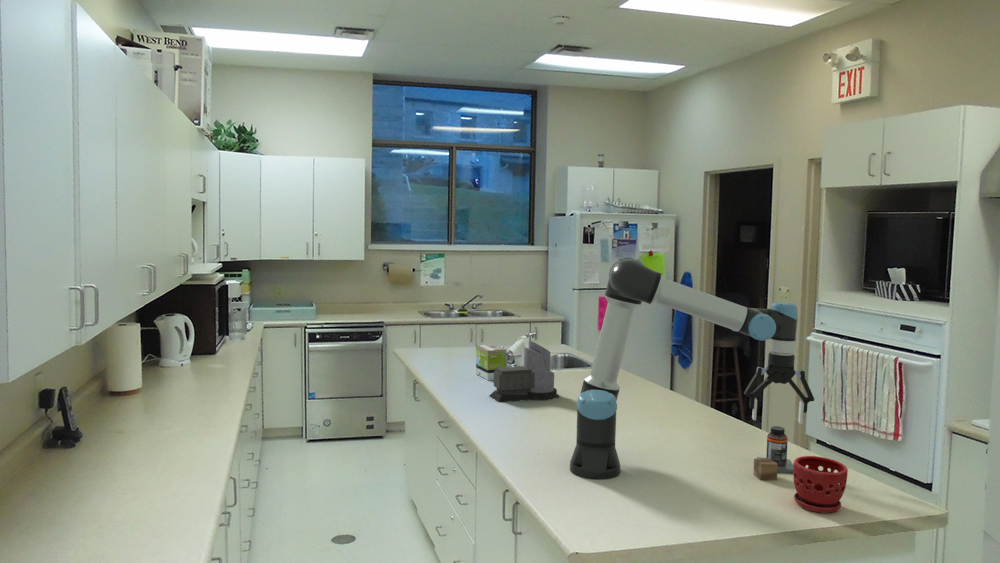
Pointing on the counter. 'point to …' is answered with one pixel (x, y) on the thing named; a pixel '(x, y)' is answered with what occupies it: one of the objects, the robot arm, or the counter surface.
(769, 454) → the supplement bottle
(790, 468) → the coaster
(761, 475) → the walnut cube
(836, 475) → the plant pot
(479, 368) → the tea box
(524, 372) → the juicer
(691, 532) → the counter surface
